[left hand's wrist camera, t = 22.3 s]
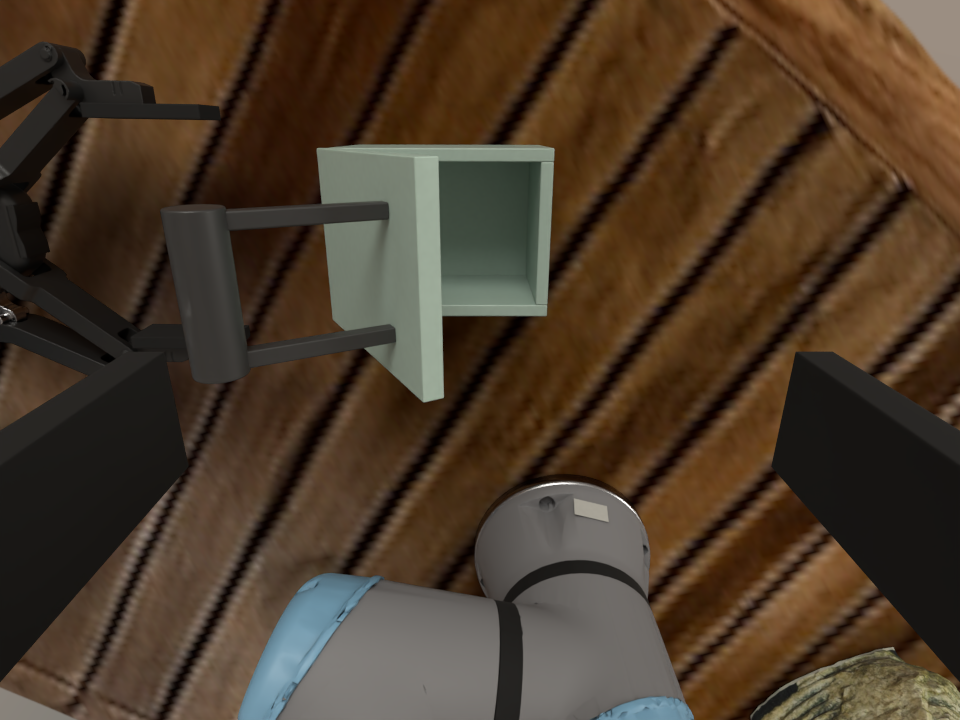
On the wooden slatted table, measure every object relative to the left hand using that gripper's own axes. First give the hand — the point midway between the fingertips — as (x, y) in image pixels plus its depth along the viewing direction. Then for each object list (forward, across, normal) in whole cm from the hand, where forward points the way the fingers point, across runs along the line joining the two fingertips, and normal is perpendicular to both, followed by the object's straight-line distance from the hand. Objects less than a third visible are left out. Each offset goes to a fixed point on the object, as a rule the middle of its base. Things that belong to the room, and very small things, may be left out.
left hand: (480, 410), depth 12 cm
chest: (+31, +2, 0) cm, 31 cm away
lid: (+17, +5, 0) cm, 17 cm away
